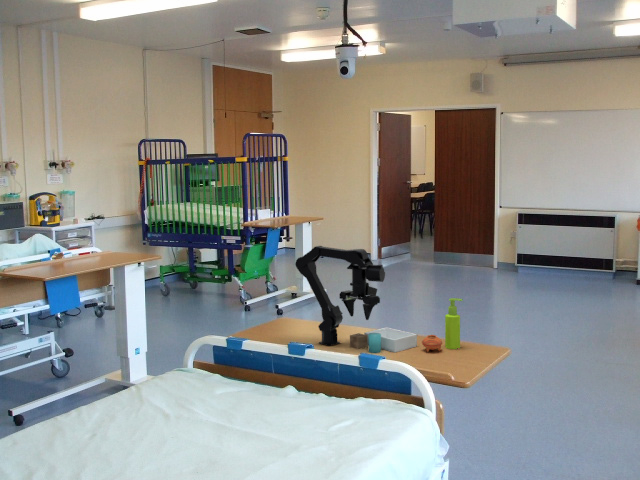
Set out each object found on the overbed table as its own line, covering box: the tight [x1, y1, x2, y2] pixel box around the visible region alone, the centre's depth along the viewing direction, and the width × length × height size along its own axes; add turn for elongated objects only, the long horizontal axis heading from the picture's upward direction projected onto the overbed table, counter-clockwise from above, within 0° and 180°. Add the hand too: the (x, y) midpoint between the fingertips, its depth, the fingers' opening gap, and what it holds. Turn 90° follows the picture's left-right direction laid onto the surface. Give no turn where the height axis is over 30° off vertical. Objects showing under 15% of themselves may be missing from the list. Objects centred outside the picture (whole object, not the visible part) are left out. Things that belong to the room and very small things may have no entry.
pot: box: [421, 334, 443, 353], centre depth 257 cm, size 8×8×7 cm
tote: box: [363, 327, 418, 353], centre depth 266 cm, size 17×13×5 cm
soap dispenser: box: [444, 297, 463, 350], centre depth 260 cm, size 6×7×20 cm
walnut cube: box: [349, 332, 368, 350], centre depth 264 cm, size 5×5×5 cm
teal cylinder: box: [368, 333, 382, 354], centre depth 257 cm, size 5×5×7 cm
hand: (359, 318), depth 263 cm, fingers open, 9 cm apart
